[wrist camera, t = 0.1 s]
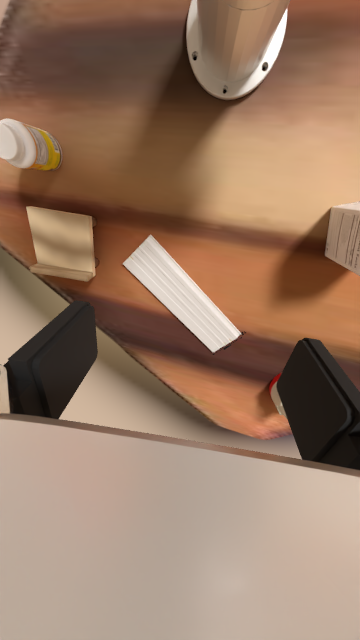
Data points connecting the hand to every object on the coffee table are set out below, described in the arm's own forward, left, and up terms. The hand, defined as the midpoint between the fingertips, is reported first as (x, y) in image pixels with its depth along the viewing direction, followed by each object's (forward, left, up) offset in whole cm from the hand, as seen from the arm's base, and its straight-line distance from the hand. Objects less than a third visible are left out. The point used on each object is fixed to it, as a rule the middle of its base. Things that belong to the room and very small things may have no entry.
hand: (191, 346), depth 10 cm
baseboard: (+15, 0, -38) cm, 40 cm away
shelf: (+6, -25, -37) cm, 45 cm away
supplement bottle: (-8, -28, -37) cm, 47 cm away
